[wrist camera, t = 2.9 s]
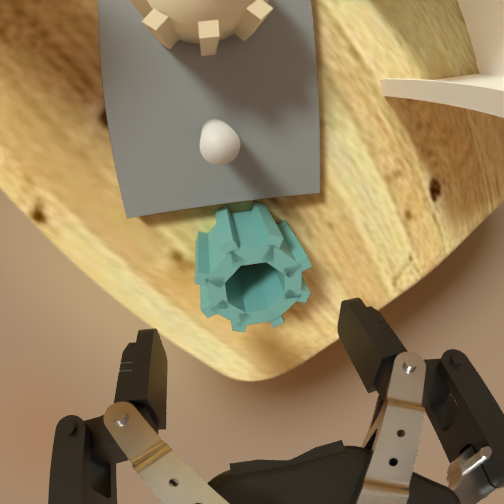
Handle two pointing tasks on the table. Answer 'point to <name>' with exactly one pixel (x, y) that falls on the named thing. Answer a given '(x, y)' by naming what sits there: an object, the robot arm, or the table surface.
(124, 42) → the board
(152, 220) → the table surface
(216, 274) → the gear
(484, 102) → the white folded wall panels
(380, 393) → the robot arm
